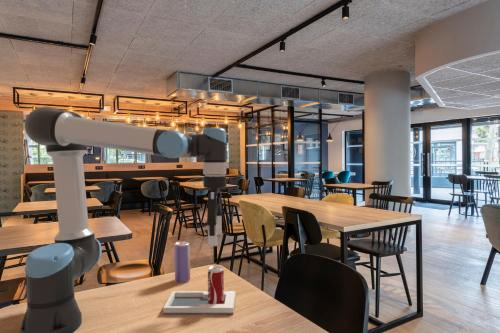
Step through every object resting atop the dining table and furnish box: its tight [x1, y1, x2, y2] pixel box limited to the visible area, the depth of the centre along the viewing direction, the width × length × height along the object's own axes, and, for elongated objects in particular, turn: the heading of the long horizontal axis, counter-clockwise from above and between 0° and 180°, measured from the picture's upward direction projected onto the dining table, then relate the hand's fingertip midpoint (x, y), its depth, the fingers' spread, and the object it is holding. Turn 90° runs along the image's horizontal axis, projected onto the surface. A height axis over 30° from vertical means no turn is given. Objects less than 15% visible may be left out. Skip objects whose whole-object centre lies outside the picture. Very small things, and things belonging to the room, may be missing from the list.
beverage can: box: [173, 240, 191, 284], centre depth 126 cm, size 6×6×15 cm
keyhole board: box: [162, 290, 236, 316], centre depth 105 cm, size 22×12×2 cm, turn 89°
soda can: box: [207, 265, 225, 304], centre depth 105 cm, size 5×5×12 cm
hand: (215, 239), depth 105 cm, fingers open, 13 cm apart
